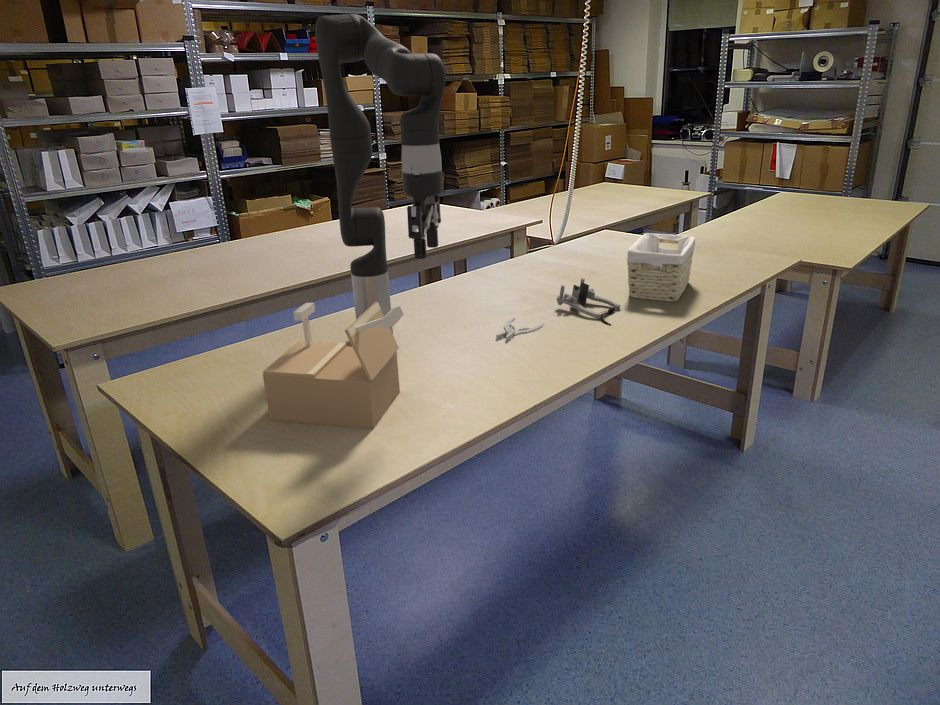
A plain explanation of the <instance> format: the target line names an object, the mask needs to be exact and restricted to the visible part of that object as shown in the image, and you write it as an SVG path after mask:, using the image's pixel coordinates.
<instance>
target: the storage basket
mask: <svg viewBox="0 0 940 705" xmlns="http://www.w3.org/2000/svg"><path fill="white" fill-rule="evenodd" d="M661 243H664V244H673V245H674V244H676V245H677V246H678V249H667V248H666V249H665V248H660V244H661ZM695 246H696V237H695V236H694V235H681V234H669V233H668V234H667V233H651V232H645V233H643V235H641V236H640V237H638V239H637V240H636V241H635V242H634V243H633V244H632V245H631V246H630V247H629V249H628V250H627V257H626V262H627V270H628V271H627V273H628V275H627V277H628V278H627V282H628V296H629V297H630V298H633V299H642V300H652V301H656V302H657V301H659V302H660V301H661V302H662V301H663V302H667V303H669V302H670V303H671V302H673V303H675V302H678V300H679V299H680V297H681V296H682V294H683V293H684V291H685V290H686V287H687V286H688V284H689V281H691V279H690V276H691V271H692V270H691V268H692V267H691V266H692V264H693V256H694V251H695Z"/></svg>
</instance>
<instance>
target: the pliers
mask: <svg viewBox="0 0 940 705" xmlns="http://www.w3.org/2000/svg"><path fill="white" fill-rule="evenodd" d="M514 319H515V317H513V318H510V319H508V321H506V322H505V324H504V330H505V331H500V332H499V333H497V334H495V335H496V336H495V338H496V340H497V339H499V340H500V338H501V339H503V338H502V337H504V338H505V341H506V342H509V341H511V340H512V339H513V338H514V336H518V335H522V333H523V334H528V333H533V332H536V331H537V329H538V330H539V329H541V328H543V327H544V326H543V325H545V323H544V322H541V323H540V324H538V325H536V326H534V327H522V328H518V330H517V331H516V327H515V326H514V325H513V324H512V323H513V322H514V321H515V320H516V319H515V320H514ZM513 320H514V321H513ZM512 321H513V322H512ZM511 322H512V323H511ZM510 323H511V324H510ZM511 326H512V327H511ZM542 326H543V327H542ZM512 328H513V329H512ZM519 330H520V331H519ZM535 330H536V331H535ZM532 331H533V332H532ZM505 336H506V337H505ZM511 338H512V339H511ZM510 339H511V340H510Z"/></svg>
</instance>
